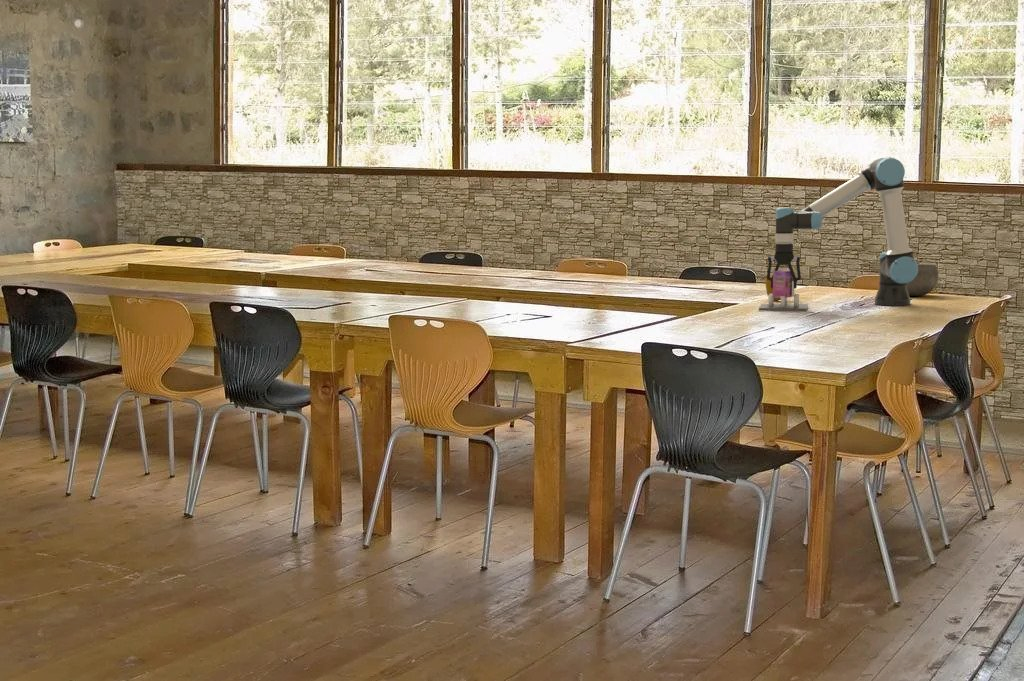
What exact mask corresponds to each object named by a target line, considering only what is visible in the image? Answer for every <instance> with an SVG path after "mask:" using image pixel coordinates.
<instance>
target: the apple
mask: <svg viewBox="0 0 1024 681" xmlns="http://www.w3.org/2000/svg"><path fill="white" fill-rule="evenodd" d="M772 275H773V274H770V277H771V278H772ZM764 282H765V289H766V290H765V291H766V294H767V297H768V296H769V295H770V294H773V288H771V281H770V280H767V276H766V277H765V281H764ZM774 300H781V299H780V298H774Z"/></svg>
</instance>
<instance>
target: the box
mask: <svg viewBox="0 0 1024 681" xmlns="http://www.w3.org/2000/svg"><path fill="white" fill-rule="evenodd" d="M793 271H794V273H795V272H796V271H795V269H793ZM772 275H773V298H780V299H781V296H785V298H787V299H789V298H794V297H793V296H792V281H794V280H793V277H792V274H791V272H790V269H780V270H779V269H778V271H774V270H773V271H772Z"/></svg>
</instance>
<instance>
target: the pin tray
mask: <svg viewBox="0 0 1024 681" xmlns="http://www.w3.org/2000/svg"><path fill="white" fill-rule="evenodd" d="M767 297H768V303H762V304H760V306H759V307H758V311H759V310H770V311H769V312H807V311H808V309H809V304H808V303H807V304H806V303H803V304H800V293H794V297H793V303H787V302H788V300H787V299H788V298H785V296H781V301H780V303H775V301H774V298H773V294H770V295H769V296H768V295H767Z"/></svg>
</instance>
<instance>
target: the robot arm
mask: <svg viewBox="0 0 1024 681" xmlns="http://www.w3.org/2000/svg"><path fill="white" fill-rule="evenodd" d="M905 171H906V170H905V167H904V165H903V163H902V162H901V161H900V160H899V159H897V158H894V157H882V158H878V159H875V160H873V161H872V162H871V163H870V164H868V166H866V167H864V168H863V169H861V170H859V171H858V172H857V175H856V176H855V177H853V178H851V179H849V180H848V181H847V182H845V183H843V184H841V185H839V186H838V187H837V188H835V189H833V190H832V191H830V192H828V193H827V194H825V195H824V196H822V197H821V198H818V199H817V200H815V201H813V203H811V204H809V205H807V206H806V207H804V208H802V209H801V210H797V211H795V210H794V207H788V206H787V207H784V206H783V207H781V206H780V207H777V208H776V209H775V232H774V233H775V234H774V235H775V238H774V241H775V243H776V244H775V245H774V247H775V248H774V249H775V250H774V252H775V253H774V255H772V256H768V258H767V261H768V267H767V272H766V277H767V280H770V281H771V288H773V274H772V273H771V271H772V266H773V261H774V260H775V261H776V262H777V263H776V266H775V268H774V270H773V271H778V270H779V268H780V266H783V265H785V266H787V267H788V268H789V269H788V270H790V272H791V274H792V277H793V280H794V281H792V296H793V297H792V298H794V295H795V289H797V287H798V281H800V280H802V276H801V274H802V273H801V265H800V260H801V257H800V256H795V254H794V244H793V242H794V230H820V229H821V228H822V226H823V218H824V217H825V216H826V215H828V214H830V213H831V212H833V211H835V210H836V209H838V208H840V207H841V206H843V205H844V204H846V203H848V202H849V201H851V200H853V199H854V198H856V197H858V196H859V195H861V194H863V193H864V192H866V191H872V190H874V189H875V191H876V193H877V194H879V195H880V199H881V200H880V201H881V209H882V215H883V221H884V228H885V236H886V237H885V238H886V243H887V244H886V245H887V251H884V252H881V253H880V254H879V259H878V260H879V266H878V267H879V274H878V276H879V277H878V284H879V286H878V289H877V292H876V294H875V298H874V304H875V305H879V306H908V305H911V297H910V296H909V293H908V290H907V283H908V282H911V281H912V280H913V279H914V278H915V277H916V275H917V273H918V265H917V264H918V263H917V261H916V260H915V255H914V249H912V248H911V247H910V245H909V239H908V234H907V233H908V231H907V225H906V217H905V209H904V202H903V196H902V191H903V189H905V182H904V178H905V174H906V172H905ZM793 260H794V262H795V263H796V265H795V266H796V273H797V274H795V273H794V271H793V270H794V269H793V265H792V261H793ZM770 275H772V278H771V277H770ZM796 275H797V276H796Z"/></svg>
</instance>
